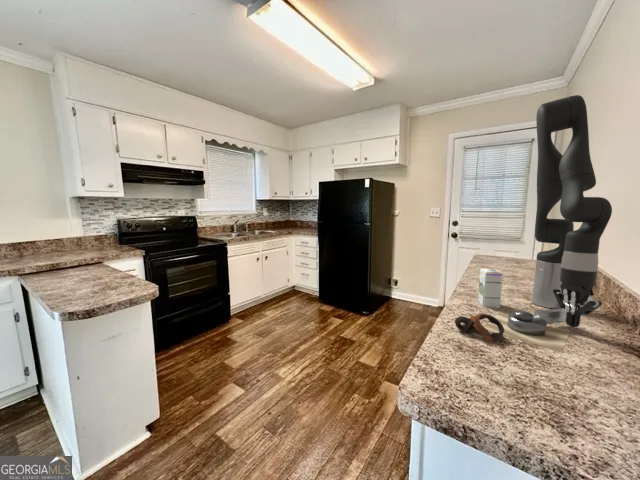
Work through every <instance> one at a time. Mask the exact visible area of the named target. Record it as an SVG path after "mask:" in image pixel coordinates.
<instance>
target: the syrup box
mask: <svg viewBox="0 0 640 480" xmlns="http://www.w3.org/2000/svg"><path fill="white" fill-rule="evenodd" d="M503 275H504V273H503V272H502V271H499V270H497V269H496V268H480V269H479V280H478V282H479V283H478V293H477V294H478V295H477V303H479V304H480V305H481V306H482V307H484V308H496V309H500V308H501V299H502V285H503Z"/></svg>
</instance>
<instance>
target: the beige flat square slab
mask: <svg viewBox="0 0 640 480" xmlns="http://www.w3.org/2000/svg"><path fill="white" fill-rule="evenodd" d="M508 316H509V314H506V313H503V312H498V313H497V314H496V315H495V316H493V317H494V318H496V319H497V320H498V321H499V322H500V323H501V324H502V325H503V327H504V333H503V336H506V337H509V338H513V339H515V340H516V339H517V340H520V341H523V342H526V343H529V344H533V345H536V346H539V347H542V348H546V349H548V350H553V351H556V352H559V353H564V349H565V347H566V344H567V341H568V338H569V335H570V333H571V330H569V329H565V328H561V327H557V326H553V325H550V324H547V327H546V334H545V335H541V336H535V335H528V334H524V333H521V332H518V331H515V330H513V329H511V328H510V327H509V326H508ZM483 327H485V328H486V329H487V330H488V332H492V333H499V328H498V326H497V325H495V324H493V323H490V322H489V321H488V322H487V323H486V324H485V325H483Z"/></svg>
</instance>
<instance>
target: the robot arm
mask: <svg viewBox="0 0 640 480" xmlns="http://www.w3.org/2000/svg"><path fill="white" fill-rule="evenodd" d="M536 111H537V112H536V116H535V117H536V118H535V119H536V120H535V121H536V122H535V123H536V138H537V139H536V141H537V167H536V169H537V171H536V213H535V214H536V215H535V222H534V223H535V224H534V238H535V241H537V242H538V243H545V244H558V246H557V247H555V248H553V249H549V250H544V251H543V250H542V251H538V252H537V254H536V260H535V261H536V262H535V269H534V270H535V271H534V277H533V279H534V280H533V285H532V287H533V288H532V293H531V294H532V295H531V303H532V304H534V305H535V306H540V307H544V308H548V309H562V308H564V309H565V311H566V312H567V314H566V322H565V323H566V326H569V327H571V328H578V327H579V326H580V323H581V317H582V316H589V315H590V314H591V313H593V312H594V311H595V310H597V309H598V308H600V307H601V306H602V305H603V303H602V301H600V300H597V299H596V297H594V294H595V293H594V291H593V290H594V287H595V286H596V285H597V284H596V283H597V278H598V277H597V276H598V270H599V269H598V268H599V250H600V249H599V248H600V241H601V238H602V235H603V233H604V232H605V230H606V227H608V224H609V222H610V219H611V217H612V213H613V206H612V204H611V203H610V200H608V199H607V198H605V197H600V196H584V192H586V191H589V190H592V189H593V188H594V187H596V185H597V178H596V174H595V171H594V167H593V163H592V158H591V152H590V139H589V138H590V137H589V136H590V135H589V122H588V119H589V118H588V111H587V104H586V100H585V99H584V97H583V96H582V95H580V94H576V95H575V94H574V95H570V96H567V97H562V98H560V99H556V100H552V101H548V102H545V103H542V104H541V105H539V107H538V108H537V110H536ZM568 129H571V131H572V134H571V135H572V136H571V140H570V142H569V143H568V146H567V147H566V150H564V153H563V154H561V152H560V151H559V150H558V149H557V147H556V146H555V144H554V143H553V139H552V134H553V133H555V132H559V131H564V130H568ZM559 202H560V203H559ZM558 203H559V212H560V215H561V216H562V218H548V215H549V213H550V212H551V211H552V210H553V208H554V207H555V206H556V205H557V204H558ZM574 223H581V225H580V226H579V228H578V229H576V230H575V229H574V227H575V225H574Z"/></svg>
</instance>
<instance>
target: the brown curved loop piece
mask: <svg viewBox="0 0 640 480" xmlns="http://www.w3.org/2000/svg"><path fill="white" fill-rule="evenodd" d="M494 317H495V316H493V315H490V314H488V313H482V312H481V313H479V314H477V315H472V316H471V317H469V318H468V317H466V316H462V315H461V316H458V317H456V318H455V320H454V324H455V326H456V328H457V329H458V330H459V331H461V332H462V333H463V334H467V332H468V330H469V329H470V328H475V330H476V331H477V332H479V334H480V335H481V336H483V338H484V339H483V342H486V343H500V342H501V341H502V340H503V336H504V335H503V333H504V327H503V325H502V324H501V323H500V322H499V321H498V320H497V319H496V318H494ZM484 319H487V320H488V322H490V323H493V324H495V325H497V326H498V328H499V333H496V332H491V335H490V334H489V330H487V329H486V328H485V327H484V325H483V324H482V322H481V321H480V320H484Z"/></svg>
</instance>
